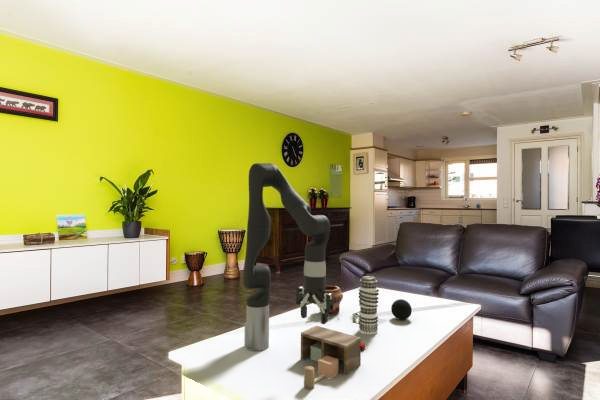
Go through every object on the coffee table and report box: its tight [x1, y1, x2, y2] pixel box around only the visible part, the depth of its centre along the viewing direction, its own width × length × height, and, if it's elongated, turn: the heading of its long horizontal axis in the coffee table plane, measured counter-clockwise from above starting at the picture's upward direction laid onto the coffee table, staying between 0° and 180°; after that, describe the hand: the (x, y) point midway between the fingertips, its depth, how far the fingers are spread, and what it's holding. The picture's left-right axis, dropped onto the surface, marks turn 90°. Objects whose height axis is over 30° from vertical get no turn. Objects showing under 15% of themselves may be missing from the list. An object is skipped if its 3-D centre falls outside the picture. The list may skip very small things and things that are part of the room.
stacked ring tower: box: [358, 275, 380, 336], centre depth 166 cm, size 9×9×25 cm
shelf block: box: [309, 342, 321, 362], centre depth 137 cm, size 5×5×5 cm
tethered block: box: [303, 355, 339, 390], centre depth 121 cm, size 5×15×6 cm, turn 142°
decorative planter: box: [316, 285, 344, 316], centre depth 192 cm, size 20×12×14 cm, turn 141°
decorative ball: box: [390, 298, 412, 321], centre depth 184 cm, size 10×10×10 cm
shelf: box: [300, 325, 362, 376], centre depth 134 cm, size 20×10×10 cm, turn 52°
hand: (313, 320), depth 124 cm, fingers open, 8 cm apart
